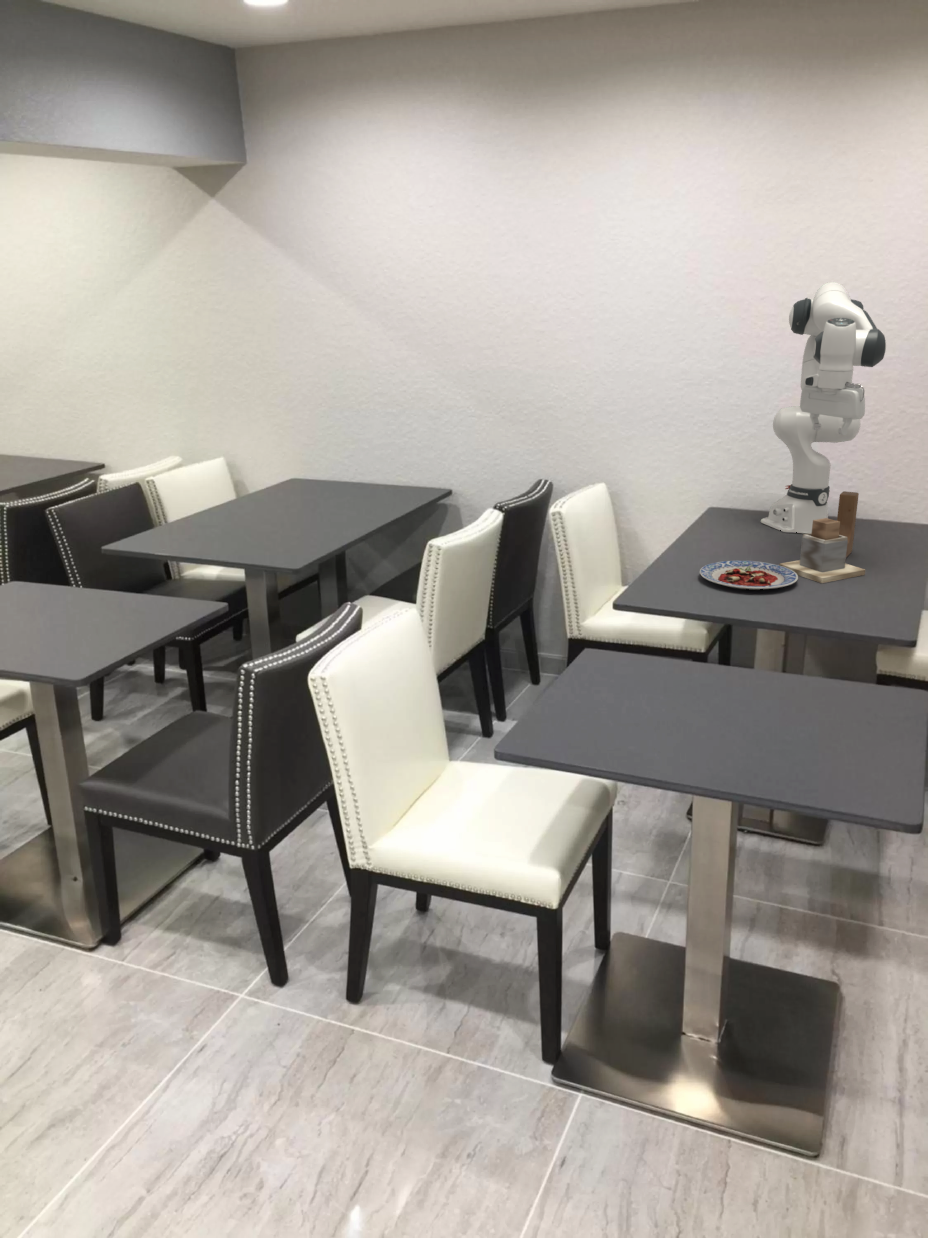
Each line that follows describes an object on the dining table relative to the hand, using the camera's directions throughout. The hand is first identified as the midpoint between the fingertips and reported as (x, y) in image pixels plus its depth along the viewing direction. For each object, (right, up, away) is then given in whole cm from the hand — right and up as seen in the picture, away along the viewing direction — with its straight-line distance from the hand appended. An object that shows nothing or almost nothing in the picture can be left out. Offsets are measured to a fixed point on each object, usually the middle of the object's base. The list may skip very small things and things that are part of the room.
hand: (829, 432), depth 278 cm
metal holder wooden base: (-1, -38, +3) cm, 38 cm away
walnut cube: (-1, -29, 0) cm, 29 cm away
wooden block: (+10, -33, +19) cm, 39 cm away
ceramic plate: (-23, -41, -3) cm, 48 cm away
